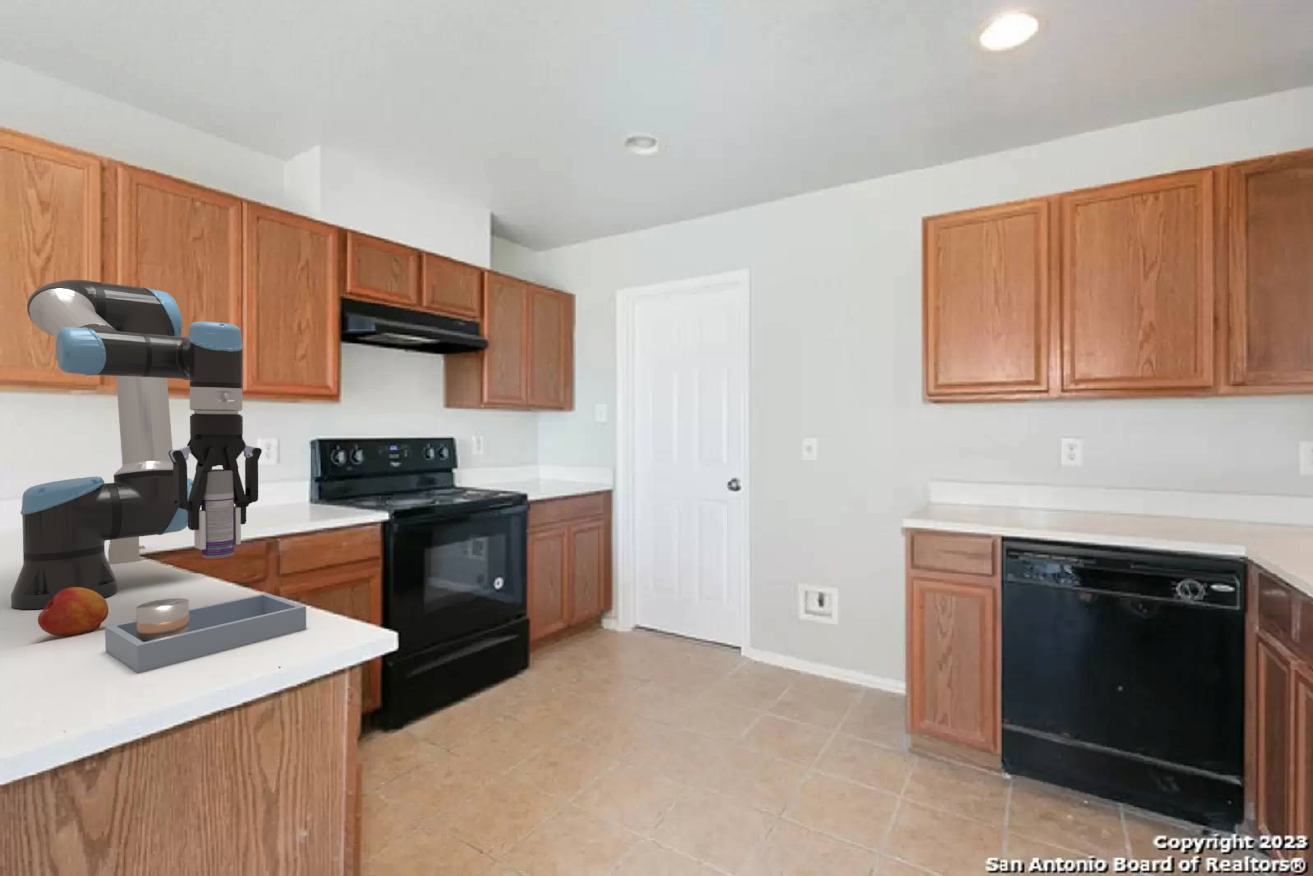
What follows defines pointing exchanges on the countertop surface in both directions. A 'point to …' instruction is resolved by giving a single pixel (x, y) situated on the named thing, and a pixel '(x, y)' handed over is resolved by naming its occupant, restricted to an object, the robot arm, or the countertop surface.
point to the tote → (208, 632)
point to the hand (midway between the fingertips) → (218, 545)
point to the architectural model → (124, 550)
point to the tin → (162, 619)
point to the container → (219, 514)
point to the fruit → (73, 612)
